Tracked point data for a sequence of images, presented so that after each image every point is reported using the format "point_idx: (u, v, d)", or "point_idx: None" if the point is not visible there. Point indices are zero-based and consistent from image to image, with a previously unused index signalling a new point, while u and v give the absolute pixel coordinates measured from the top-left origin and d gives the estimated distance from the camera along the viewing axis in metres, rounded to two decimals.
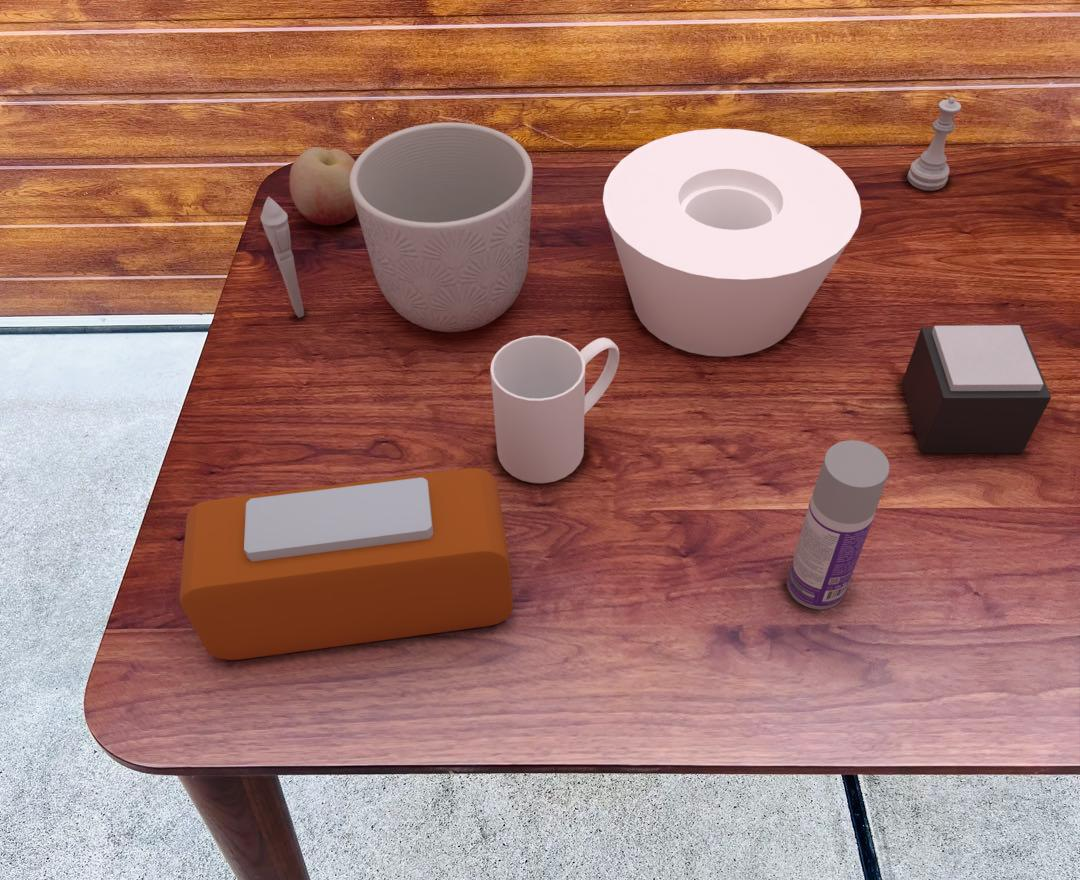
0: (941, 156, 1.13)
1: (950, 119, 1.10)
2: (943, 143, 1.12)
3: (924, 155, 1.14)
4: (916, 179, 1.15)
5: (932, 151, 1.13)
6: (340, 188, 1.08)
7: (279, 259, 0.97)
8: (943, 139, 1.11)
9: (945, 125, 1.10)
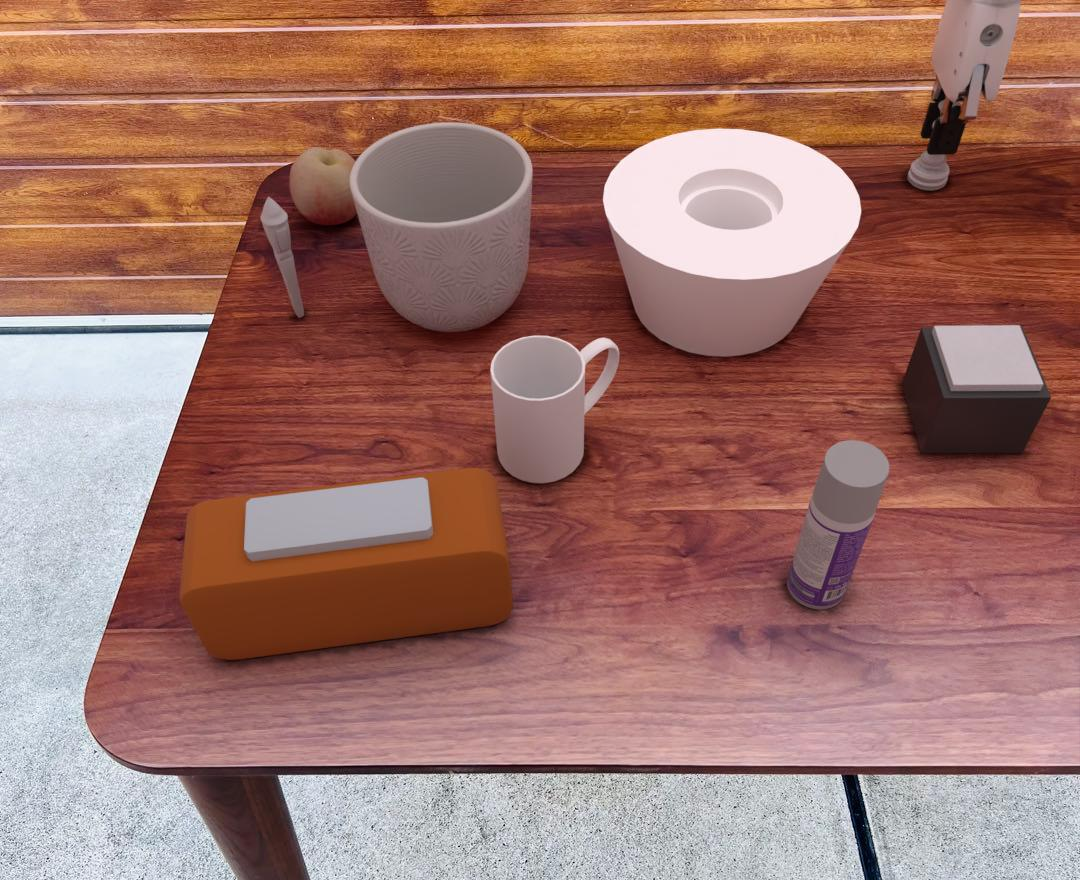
0: (941, 156, 1.13)
1: None
2: None
3: (924, 155, 1.14)
4: (916, 179, 1.15)
5: None
6: (340, 188, 1.08)
7: (279, 259, 0.97)
8: None
9: None
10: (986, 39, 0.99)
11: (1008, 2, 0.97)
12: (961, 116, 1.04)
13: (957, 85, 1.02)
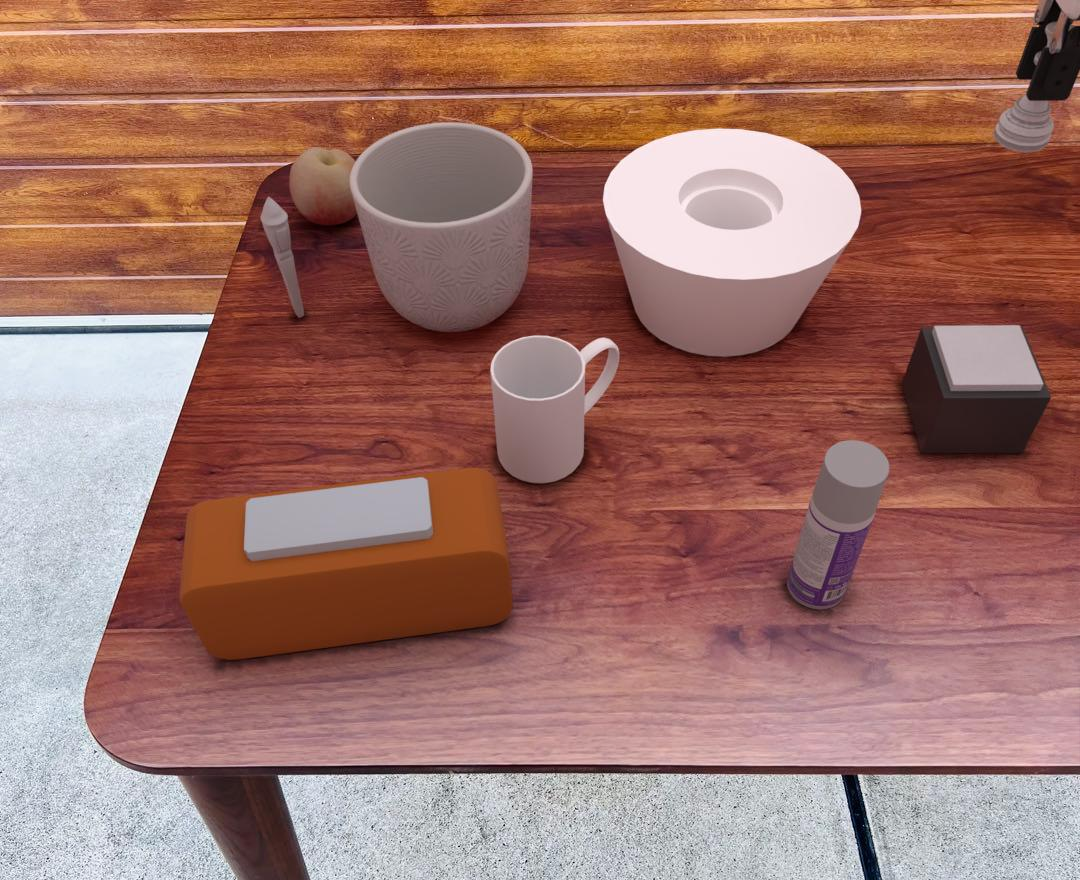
0: (1044, 104, 0.81)
1: None
2: None
3: (1020, 103, 0.82)
4: (1007, 136, 0.83)
5: None
6: (340, 188, 1.08)
7: (279, 259, 0.97)
8: None
9: None
10: None
11: None
12: None
13: None
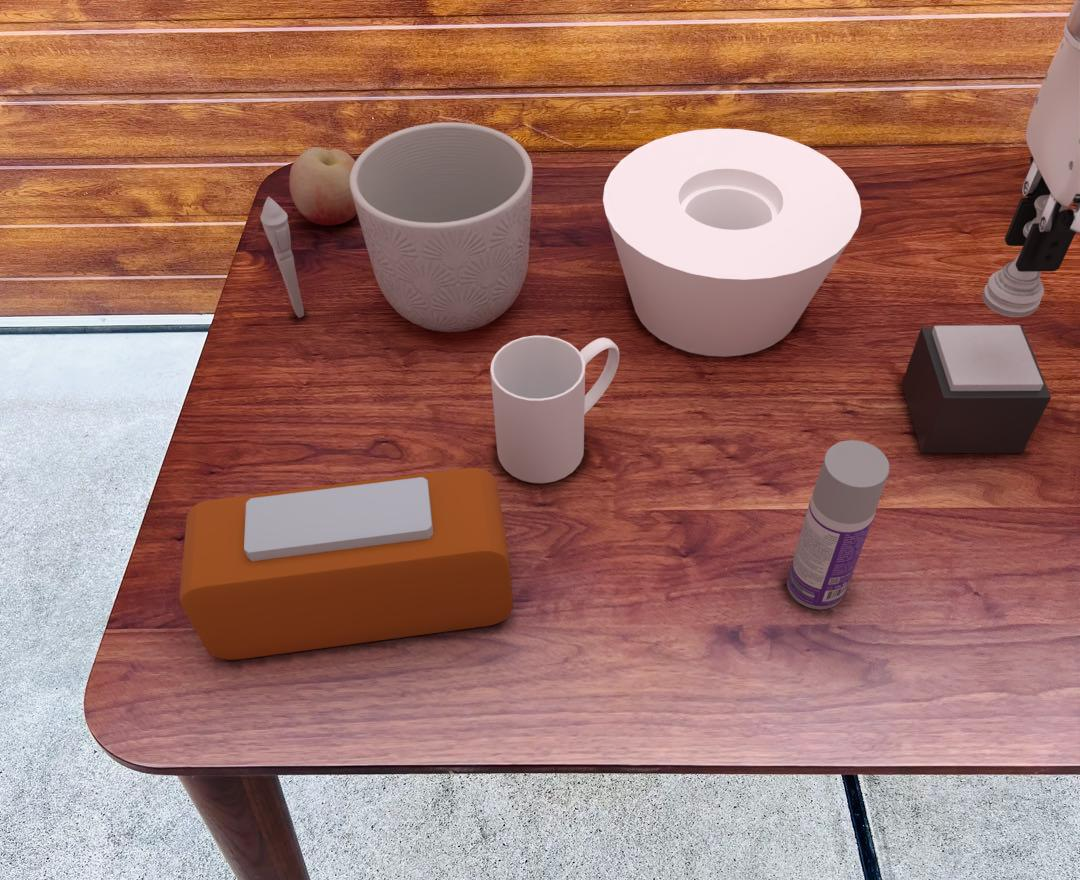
0: None
1: None
2: None
3: (1009, 269, 0.80)
4: (996, 301, 0.81)
5: None
6: (340, 188, 1.08)
7: (279, 259, 0.97)
8: None
9: None
10: None
11: None
12: (1076, 227, 0.70)
13: (1073, 184, 0.68)
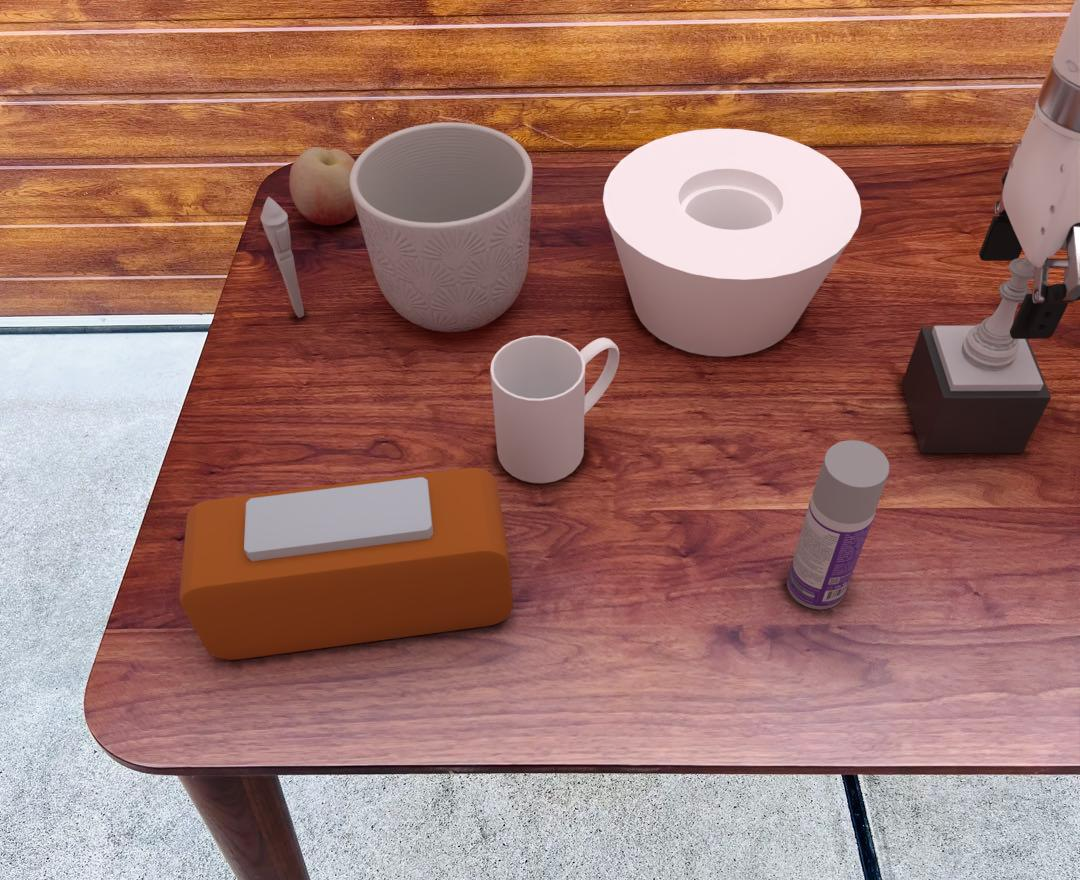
0: (1009, 328, 0.84)
1: (1024, 284, 0.80)
2: (1013, 312, 0.83)
3: (986, 325, 0.85)
4: (974, 355, 0.86)
5: (998, 322, 0.83)
6: (340, 188, 1.08)
7: (279, 259, 0.97)
8: (1014, 308, 0.82)
9: (1017, 292, 0.81)
10: None
11: None
12: (1071, 286, 0.71)
13: (1044, 248, 0.73)
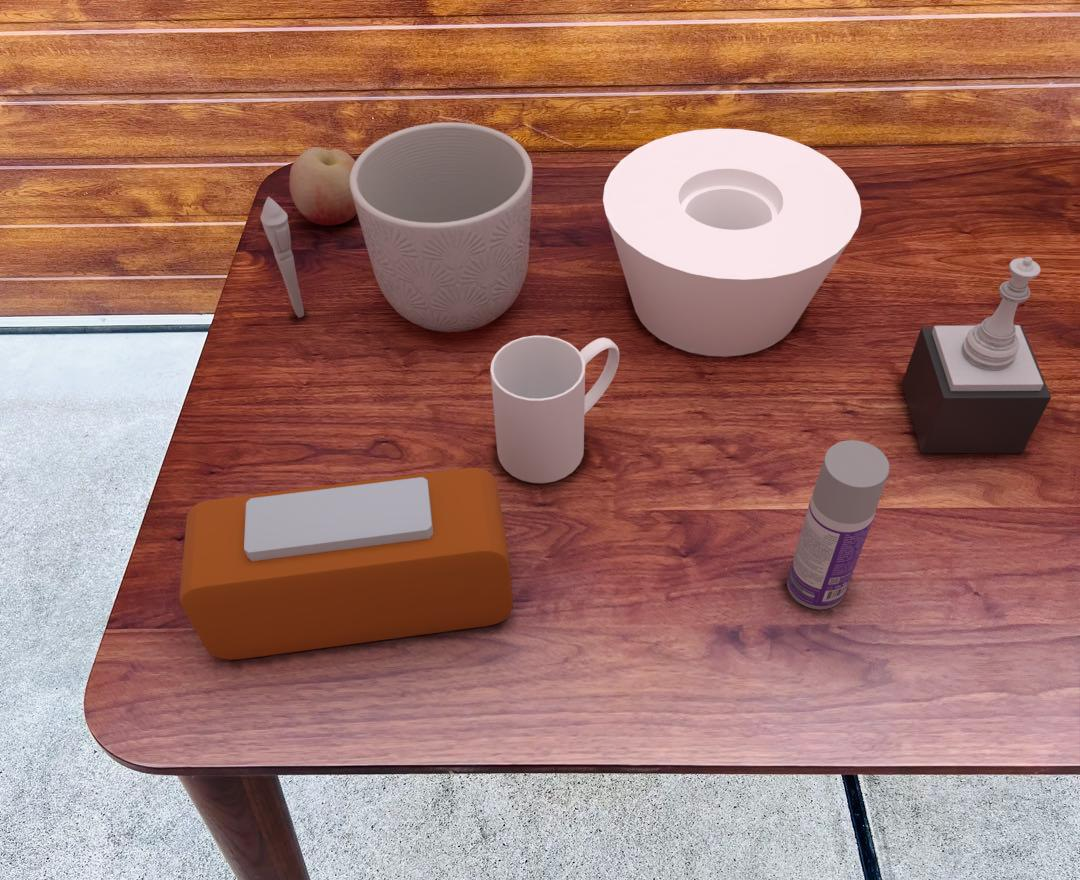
0: (1009, 328, 0.84)
1: (1024, 284, 0.80)
2: (1013, 312, 0.83)
3: (986, 325, 0.85)
4: (974, 355, 0.86)
5: (998, 322, 0.83)
6: (340, 188, 1.08)
7: (279, 259, 0.97)
8: (1013, 308, 0.82)
9: (1017, 292, 0.81)
10: None
11: None
12: None
13: None
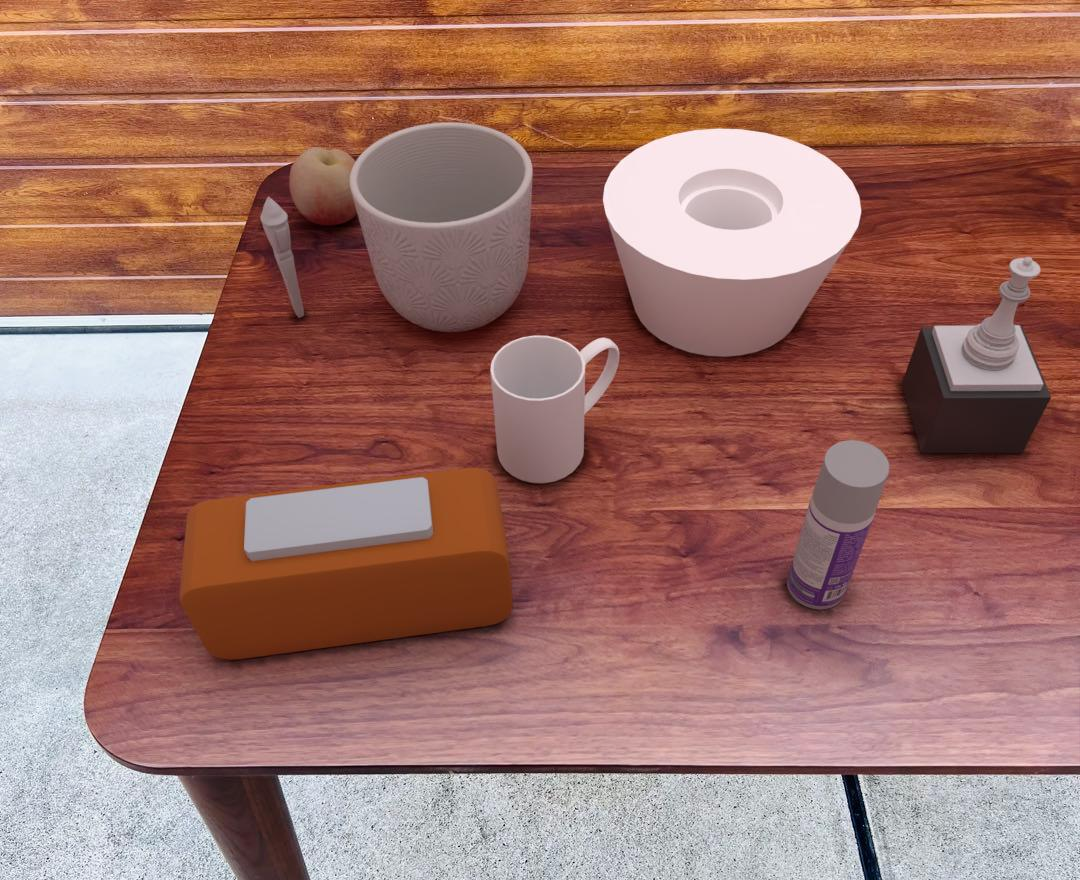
0: (1009, 328, 0.84)
1: (1024, 284, 0.80)
2: (1013, 312, 0.83)
3: (986, 325, 0.85)
4: (974, 355, 0.86)
5: (998, 322, 0.83)
6: (340, 188, 1.08)
7: (279, 259, 0.97)
8: (1013, 308, 0.82)
9: (1017, 292, 0.81)
10: None
11: None
12: None
13: None
